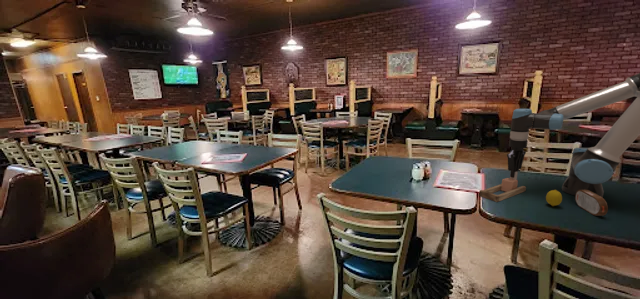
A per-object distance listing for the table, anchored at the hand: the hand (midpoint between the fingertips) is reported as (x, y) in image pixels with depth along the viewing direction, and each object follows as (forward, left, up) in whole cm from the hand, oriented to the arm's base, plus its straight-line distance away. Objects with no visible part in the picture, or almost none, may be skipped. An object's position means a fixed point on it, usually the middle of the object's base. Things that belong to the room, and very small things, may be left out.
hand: (512, 182), depth 142 cm
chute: (0, +9, -4) cm, 10 cm away
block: (0, +3, -4) cm, 5 cm away
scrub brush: (-30, -2, -4) cm, 31 cm away
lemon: (-20, +5, -4) cm, 21 cm away
